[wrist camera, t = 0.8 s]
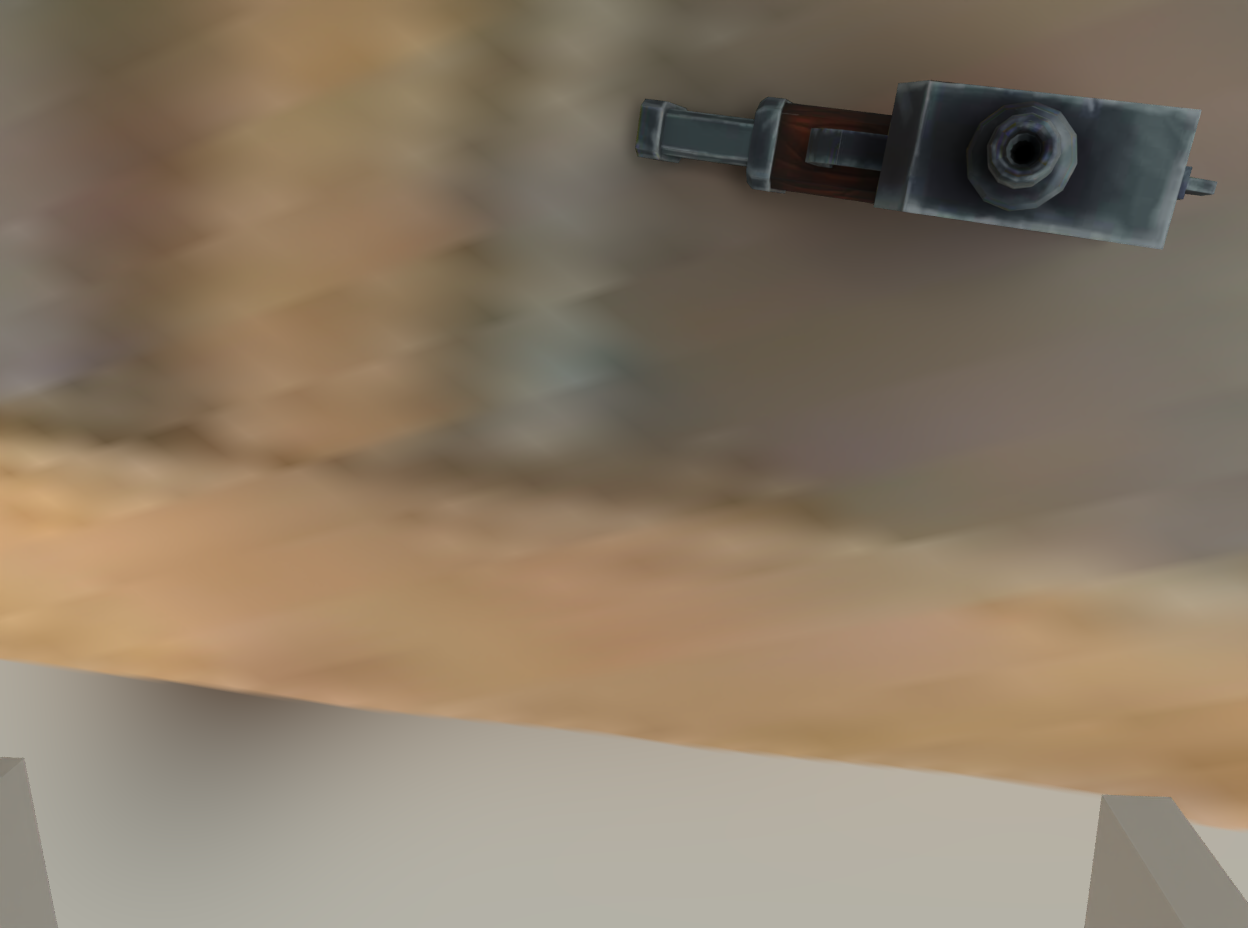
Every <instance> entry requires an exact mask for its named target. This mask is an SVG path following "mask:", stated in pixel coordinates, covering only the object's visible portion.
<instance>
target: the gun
mask: <svg viewBox="0 0 1248 928" xmlns="http://www.w3.org/2000/svg"><path fill="white" fill-rule="evenodd" d="M1200 114H1201V110H1197V109H1188V108H1179V107H1170V106H1161V105H1151V104H1142V103H1133V102H1124V101H1115V100H1106V99H1096V98H1087V97H1078V96H1069V95H1060V94H1051V93H1042V92H1032V91H1023V90H1014V89H1005V88H996V87H987V86H977V85H968V84H959V83H950V82H941V81H932V80H928V81H918V82H908V83H898V88H897V93H896V98H895V103H894V108H893V113H892V115H884V114H876V113H867V112H859V111H851V110H842V109H834V108H826V107H817V106H809V105H801V104H793V103H792V102H790V101H788V100H787V99H782V98H773V97H767V98H765V99H764V100H763V101H761V102H760V104H759V106H758V108H757V111H756V114H755V119H747V118H739V117H731V116H723V115H715V114H707V113H700V112H692V111H687V109H686V108H684V107H681V106H678V105H676V104H673V103H670V102H666V101H658V100H650V99H645V101H644V102H643V103H642V105H641V111H640V118H639V125H638V133H637V140H636V147H635V149H636V152H637V155H638V157H644V158H649V159H655V160H661V161H668V162H675V163H679V161H680V160H681V158H688V159H695V160H702V161H709V162H717V163H724V164H731V165H738V166H745V167H747V169H746V176H747V183H748V184H749V185H750V187H751V188H752V189H756V190H763V191H770V192H777V193H785V192H786V191H792V192H799V193H806V194H813V195H820V196H827V197H834V198H841V199H848V200H854V201H861V202H868V203H874V207H876V208H883V209H890V210H896V211H903V212H910V213H917V214H923V215H930V216H937V217H944V218H951V219H958V220H965V221H971V222H978V223H985V224H992V225H999V226H1006V227H1012V228H1019V229H1026V230H1033V231H1040V232H1047V233H1054V234H1060V235H1067V236H1074V237H1081V238H1088V239H1095V240H1101V241H1108V242H1115V243H1122V244H1129V245H1136V246H1143V247H1149V248H1156V249H1163V247H1164V243H1165V239H1166V236H1167V232H1168V229H1169V225H1170V222H1171V218H1172V214H1173V211H1174V207H1175V204H1176V200H1180V199H1183V198H1184V195H1185V194H1191V195H1199V196H1204V195H1211V194H1214V192H1215V188H1216V185H1217V182H1215V181H1210V180H1204V179H1199V178H1193V177H1190V173H1191V170H1192V167H1188V166H1186V164H1187V161H1188V157H1189V153H1190V150H1191V146H1192V143H1193V139H1194V135H1195V132H1196V128H1197V125H1198V121H1199V118H1200Z"/></svg>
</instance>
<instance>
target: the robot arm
mask: <svg viewBox="0 0 1248 928" xmlns="http://www.w3.org/2000/svg"><path fill="white" fill-rule="evenodd" d="M0 928H58V927H57V921H56V917H55V911H54V906H53V901H52V896H51V892H50V886H49V881H48V876H47V872H46V866H45V861H44V856H43V851H42V846H41V841H40V835H39V831H38V826H37V820H36V815H35V810H34V805H33V800H32V795H31V790H30V785H29V780H28V775H27V770H26V765H25V760H24V758H10V757H0ZM1084 928H1248V902H1247V901H1246V900H1245V898H1244V897H1243V896H1242V894H1241V893H1240V891H1239V890H1238V889H1237V887H1236V886H1235V885H1234V883H1233V882H1232V880H1231V879H1230V878H1229V876H1227V874H1226V872H1225V871H1224V869H1223V868H1222V867H1221V866H1220V864H1219V863H1218V861H1217V860H1216V859H1215V857H1214V856H1213V854H1212V853H1211V852H1210V850H1209V849H1208V848H1207V846H1206V845H1205V843H1204V842H1203V841H1202V839H1201V838H1200V837H1199V835H1198V834H1197V832H1196V831H1195V830H1194V828H1193V827H1192V826H1191V824H1190V823H1189V821H1188V820H1187V819H1186V817H1185V816H1184V815H1183V813H1182V812H1181V811H1180V809H1179V808H1178V806H1177V805H1176V804H1175V802H1174V801H1173V800H1172V798H1171V797H1151V796H1122V795H1102V798H1101V806H1100V813H1099V821H1098V829H1097V836H1096V843H1095V852H1094V859H1093V866H1092V874H1091V882H1090V889H1089V897H1088V904H1087V912H1086V919H1085V927H1084Z"/></svg>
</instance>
